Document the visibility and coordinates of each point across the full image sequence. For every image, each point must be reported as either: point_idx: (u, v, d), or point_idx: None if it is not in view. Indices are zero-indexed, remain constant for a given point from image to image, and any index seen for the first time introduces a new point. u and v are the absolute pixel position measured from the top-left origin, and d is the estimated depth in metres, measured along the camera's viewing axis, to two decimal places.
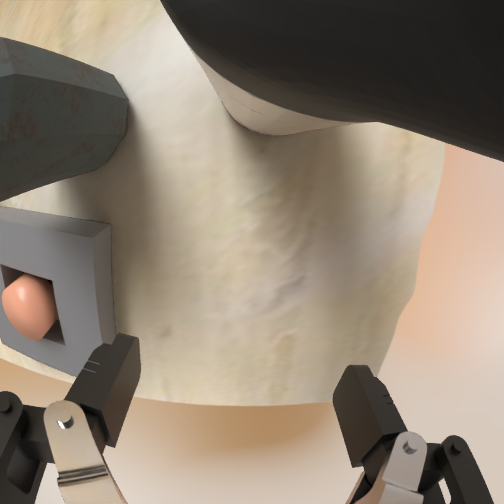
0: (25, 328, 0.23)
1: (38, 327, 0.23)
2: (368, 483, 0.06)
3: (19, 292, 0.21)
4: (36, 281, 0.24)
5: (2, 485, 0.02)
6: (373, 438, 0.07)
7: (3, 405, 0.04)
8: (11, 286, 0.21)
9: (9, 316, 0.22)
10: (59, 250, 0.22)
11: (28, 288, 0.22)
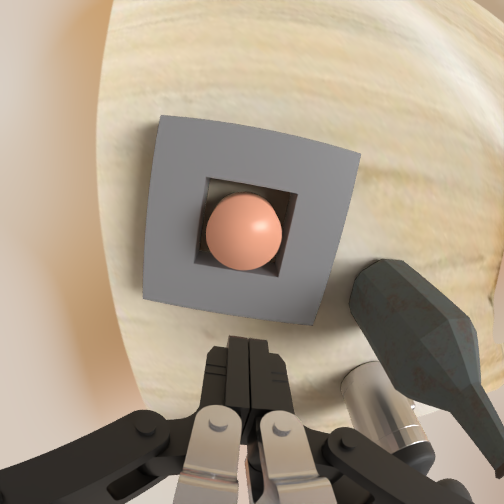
0: (223, 231, 0.26)
1: (230, 258, 0.27)
2: (258, 471, 0.06)
3: (275, 247, 0.26)
4: None
5: (95, 491, 0.04)
6: (248, 412, 0.07)
7: (145, 427, 0.05)
8: None
9: (237, 205, 0.25)
10: (306, 294, 0.31)
11: None
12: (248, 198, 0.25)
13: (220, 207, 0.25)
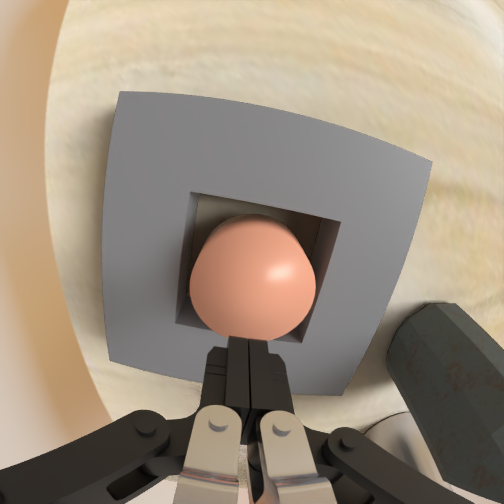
0: (218, 286, 0.15)
1: (230, 326, 0.16)
2: (258, 471, 0.06)
3: (303, 310, 0.16)
4: None
5: (95, 491, 0.04)
6: (248, 412, 0.07)
7: (145, 427, 0.05)
8: None
9: (242, 243, 0.14)
10: (339, 361, 0.20)
11: None
12: (262, 232, 0.14)
13: (213, 246, 0.14)
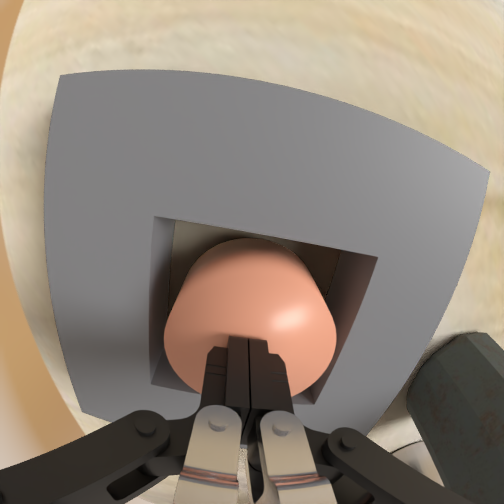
0: (203, 345, 0.11)
1: None
2: (258, 471, 0.06)
3: (318, 370, 0.11)
4: None
5: (95, 492, 0.04)
6: (248, 412, 0.07)
7: (146, 427, 0.05)
8: None
9: (234, 290, 0.10)
10: (358, 417, 0.15)
11: None
12: (263, 274, 0.10)
13: (192, 295, 0.10)
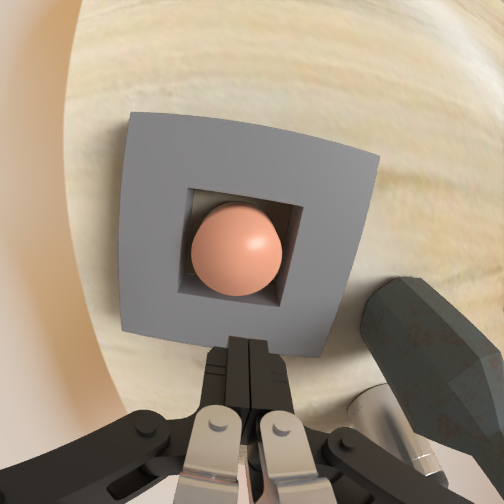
0: (211, 252, 0.21)
1: (221, 283, 0.22)
2: (258, 471, 0.06)
3: (274, 269, 0.22)
4: None
5: (95, 492, 0.04)
6: (248, 412, 0.07)
7: (146, 427, 0.05)
8: None
9: (227, 220, 0.21)
10: (313, 324, 0.25)
11: None
12: (241, 211, 0.21)
13: (207, 223, 0.21)
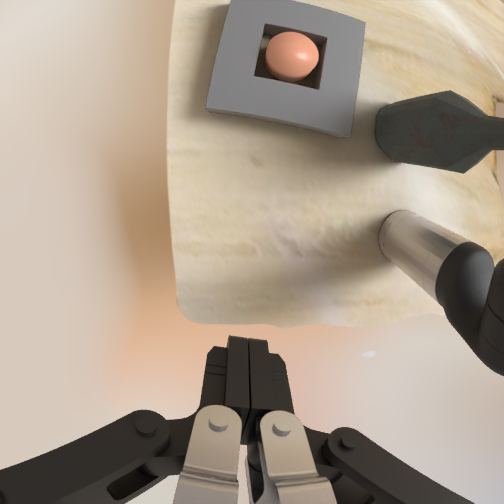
0: (279, 49, 0.30)
1: (284, 66, 0.31)
2: (258, 471, 0.06)
3: (315, 62, 0.30)
4: None
5: (95, 491, 0.04)
6: (248, 412, 0.07)
7: (145, 426, 0.05)
8: (318, 54, 0.30)
9: (288, 35, 0.29)
10: (342, 106, 0.33)
11: None
12: (295, 32, 0.29)
13: (277, 35, 0.29)
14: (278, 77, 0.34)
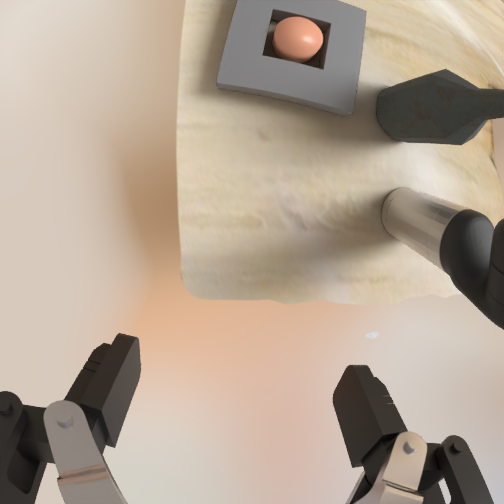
0: (286, 32, 0.30)
1: (290, 47, 0.31)
2: (368, 483, 0.06)
3: (319, 44, 0.31)
4: (315, 53, 0.34)
5: (2, 485, 0.02)
6: (373, 438, 0.07)
7: (3, 405, 0.04)
8: (322, 37, 0.31)
9: (294, 19, 0.29)
10: (345, 85, 0.34)
11: None
12: (301, 17, 0.29)
13: (284, 20, 0.29)
14: (285, 58, 0.34)
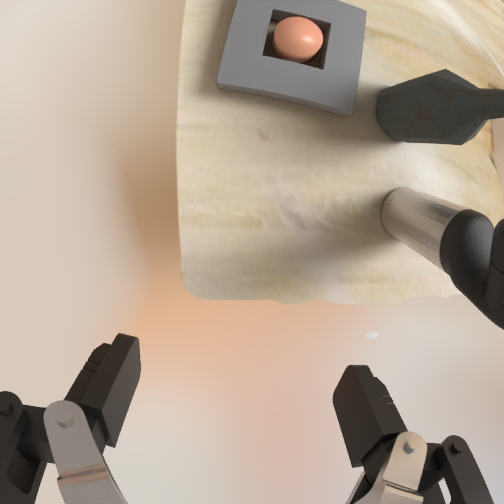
0: (286, 32, 0.30)
1: (290, 47, 0.31)
2: (368, 483, 0.06)
3: (319, 44, 0.31)
4: (315, 53, 0.34)
5: (2, 485, 0.02)
6: (373, 438, 0.07)
7: (3, 405, 0.04)
8: (322, 37, 0.31)
9: (294, 19, 0.29)
10: (345, 85, 0.34)
11: None
12: (301, 17, 0.29)
13: (284, 20, 0.29)
14: (285, 58, 0.34)
